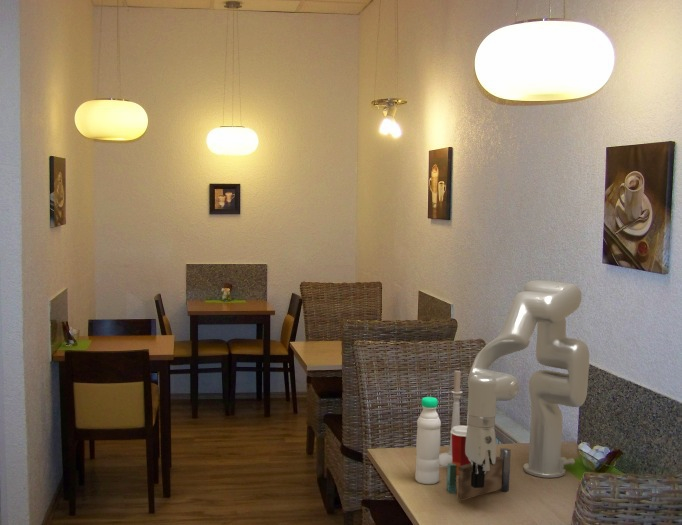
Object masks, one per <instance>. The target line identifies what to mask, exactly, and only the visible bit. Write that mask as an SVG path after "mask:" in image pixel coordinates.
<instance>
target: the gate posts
mask: <svg viewBox="0 0 682 525" xmlns="http://www.w3.org/2000/svg"><path fill="white" fill-rule="evenodd" d="M511 450H512V449H510V448H507V447H502V448H499V457H501V458H503V466H502V489H499V490H498V491H499V492H502V493H508V492H509V491H510V479H511V478H510V475H511V452H512V451H511ZM456 473H457V465H456V464H455V463H447V468H446V491H447V492H448V493H449V494H453V493H456V492H457V475H456Z"/></svg>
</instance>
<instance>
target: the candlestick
mask: <svg viewBox="0 0 682 525" xmlns="http://www.w3.org/2000/svg"><path fill="white" fill-rule="evenodd" d="M453 375H454V376H453V377H454V378H453V390H451V391H450V392H451V393H452V399H453V403H452V404H453V405H452V413H451V414H452V415H451V416H452V417H451V427H450V430H451V429H452V428H453V427H454V426H461V412H460V410H461V409H460V408H461V406H460V404H461V403H460V399H461V397H462V394H463V391H462V390H461V376H462V371H460V370H454V374H453ZM449 439H450V440H449V448H448V451H447V452H442V453H440V454H439V461H440V464H439V467H441V468H446V469H447V463H452V433H450V438H449Z"/></svg>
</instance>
